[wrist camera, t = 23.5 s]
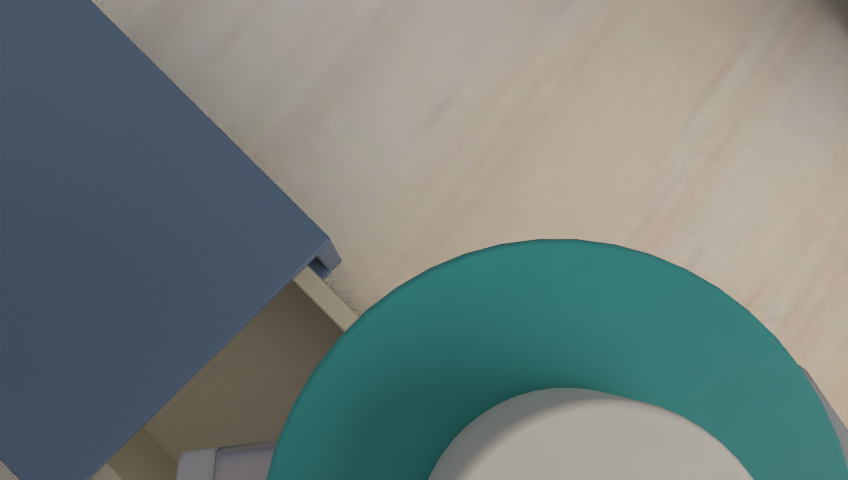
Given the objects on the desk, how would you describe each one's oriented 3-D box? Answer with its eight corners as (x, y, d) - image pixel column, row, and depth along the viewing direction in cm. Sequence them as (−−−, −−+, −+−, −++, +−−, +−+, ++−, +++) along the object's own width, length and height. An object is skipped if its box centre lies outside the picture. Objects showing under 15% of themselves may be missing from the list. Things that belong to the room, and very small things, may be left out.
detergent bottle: (608, 558, 18) (1025, 954, 6) (331, 583, 17) (246, 1055, 6) (583, 284, 18) (918, 195, 7) (316, 301, 18) (212, 238, 7)
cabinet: (342, 260, 39) (330, 238, 30) (133, 467, 38) (51, 513, 28) (103, 23, 40) (18, -72, 31) (-111, 217, 38) (-272, 180, 29)
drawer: (552, 487, 38) (597, 527, 30) (363, 691, 36) (359, 789, 29) (245, 181, 39) (211, 144, 31) (48, 369, 37) (-39, 379, 30)
